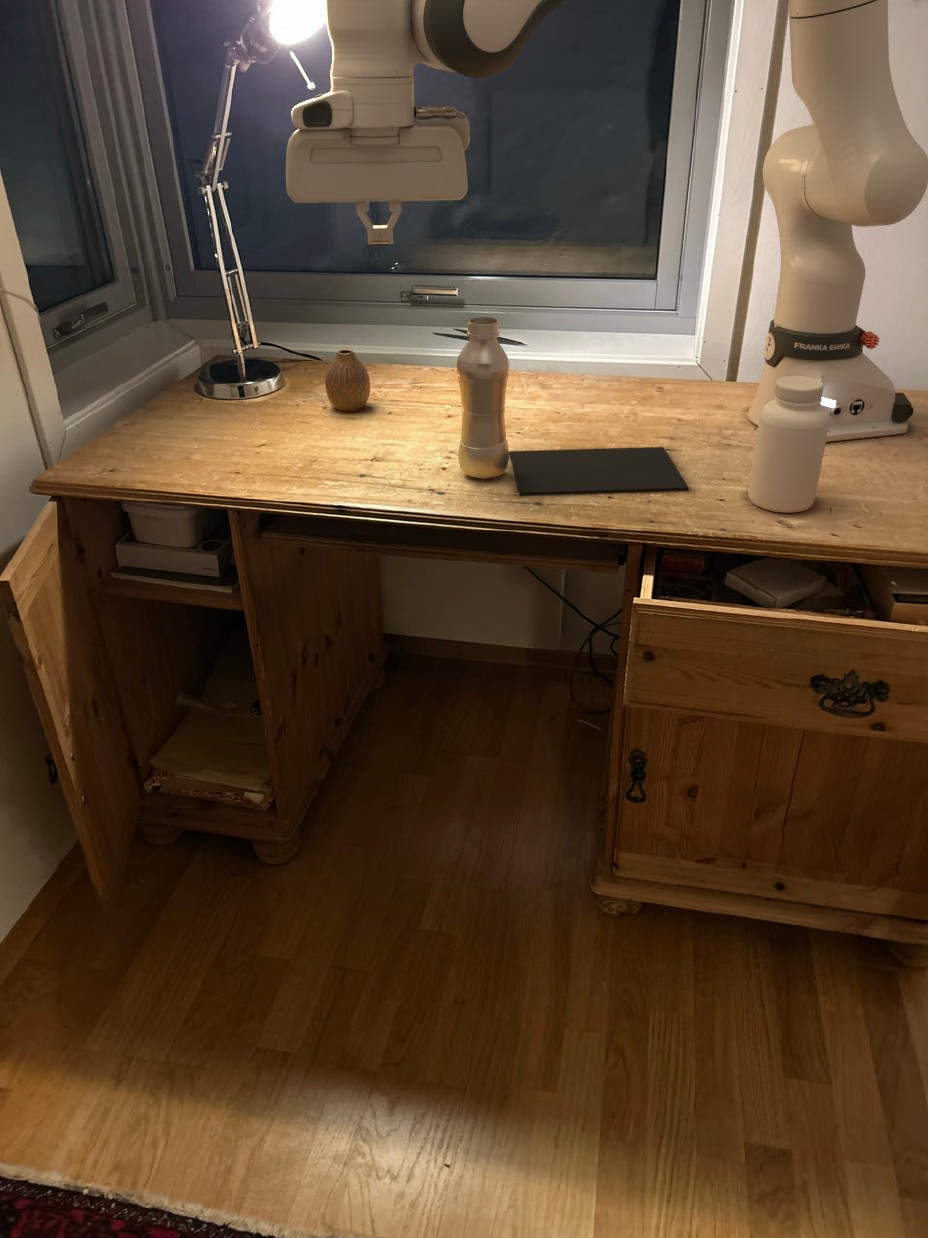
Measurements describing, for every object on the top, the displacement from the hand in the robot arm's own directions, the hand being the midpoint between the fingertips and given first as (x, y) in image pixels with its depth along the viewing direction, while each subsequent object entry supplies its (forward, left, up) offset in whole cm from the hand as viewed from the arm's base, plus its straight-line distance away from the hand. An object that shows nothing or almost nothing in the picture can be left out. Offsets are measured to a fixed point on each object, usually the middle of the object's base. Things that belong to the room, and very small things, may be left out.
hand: (380, 242), depth 111 cm
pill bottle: (-48, +11, -29) cm, 57 cm away
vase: (+7, -28, -29) cm, 41 cm away
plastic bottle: (-12, 0, -29) cm, 32 cm away
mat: (-27, 0, -29) cm, 40 cm away
